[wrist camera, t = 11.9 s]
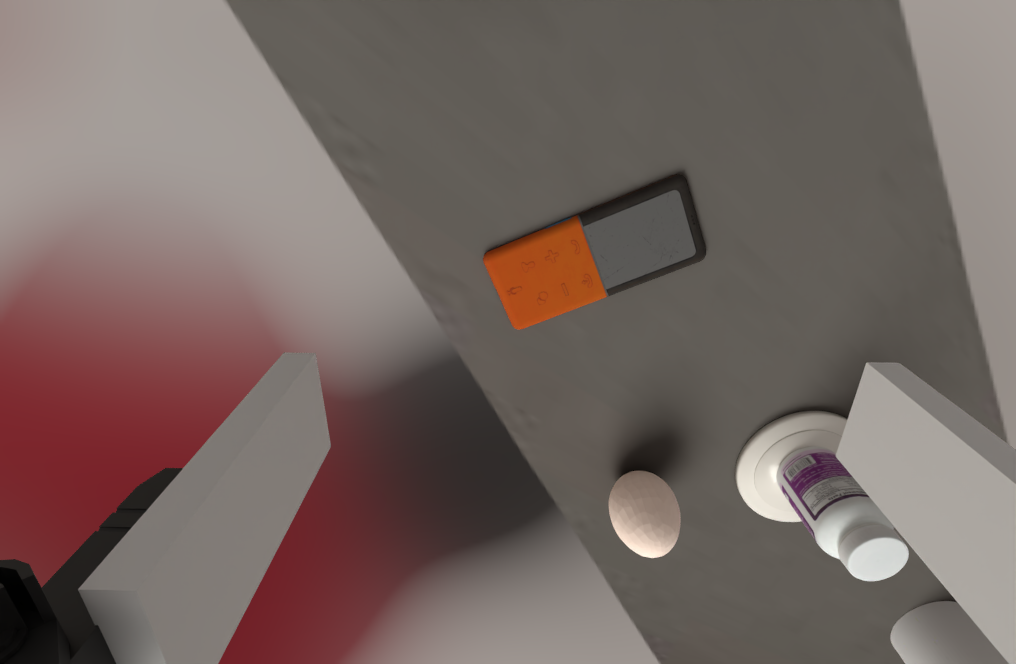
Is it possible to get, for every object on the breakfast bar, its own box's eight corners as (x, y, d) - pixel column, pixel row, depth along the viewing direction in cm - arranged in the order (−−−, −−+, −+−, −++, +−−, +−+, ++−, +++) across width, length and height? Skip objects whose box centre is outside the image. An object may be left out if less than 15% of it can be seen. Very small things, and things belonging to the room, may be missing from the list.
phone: (479, 257, 38) (686, 172, 36) (480, 252, 39) (680, 170, 37) (515, 334, 40) (710, 260, 38) (514, 327, 42) (704, 255, 39)
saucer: (752, 406, 44) (757, 413, 43) (885, 414, 44) (893, 421, 43) (722, 511, 48) (726, 519, 47) (843, 518, 48) (849, 527, 47)
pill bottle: (836, 491, 46) (914, 586, 37) (773, 498, 46) (834, 593, 37) (842, 439, 44) (926, 526, 35) (775, 447, 44) (841, 535, 35)
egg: (662, 449, 45) (691, 516, 38) (669, 499, 48) (696, 571, 40) (598, 460, 46) (614, 528, 39) (607, 509, 48) (624, 582, 41)
